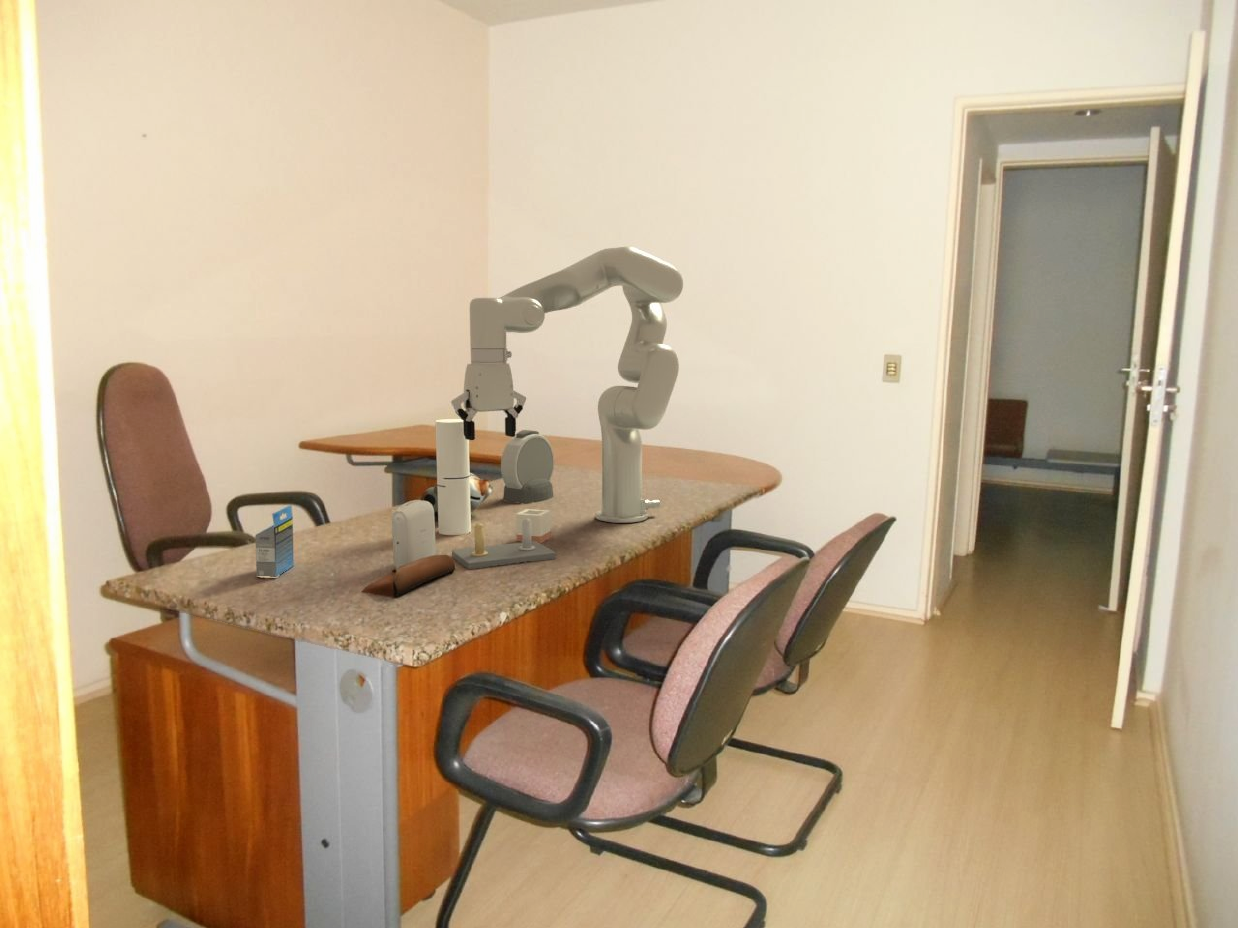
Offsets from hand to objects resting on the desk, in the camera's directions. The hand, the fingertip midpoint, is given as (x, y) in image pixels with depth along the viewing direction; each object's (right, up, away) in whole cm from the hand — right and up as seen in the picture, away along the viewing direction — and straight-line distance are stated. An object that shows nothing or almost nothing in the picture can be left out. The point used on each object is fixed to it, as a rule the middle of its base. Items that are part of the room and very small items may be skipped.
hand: (490, 437), depth 197 cm
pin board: (+4, -24, -12) cm, 28 cm away
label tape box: (-37, -26, -23) cm, 51 cm away
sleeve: (+9, -22, +3) cm, 24 cm away
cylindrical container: (-9, -21, +10) cm, 25 cm away
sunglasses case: (-10, -28, -30) cm, 42 cm away
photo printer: (-12, -25, -17) cm, 33 cm away
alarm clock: (+3, -15, +49) cm, 51 cm away
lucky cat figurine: (-12, -19, +26) cm, 34 cm away
